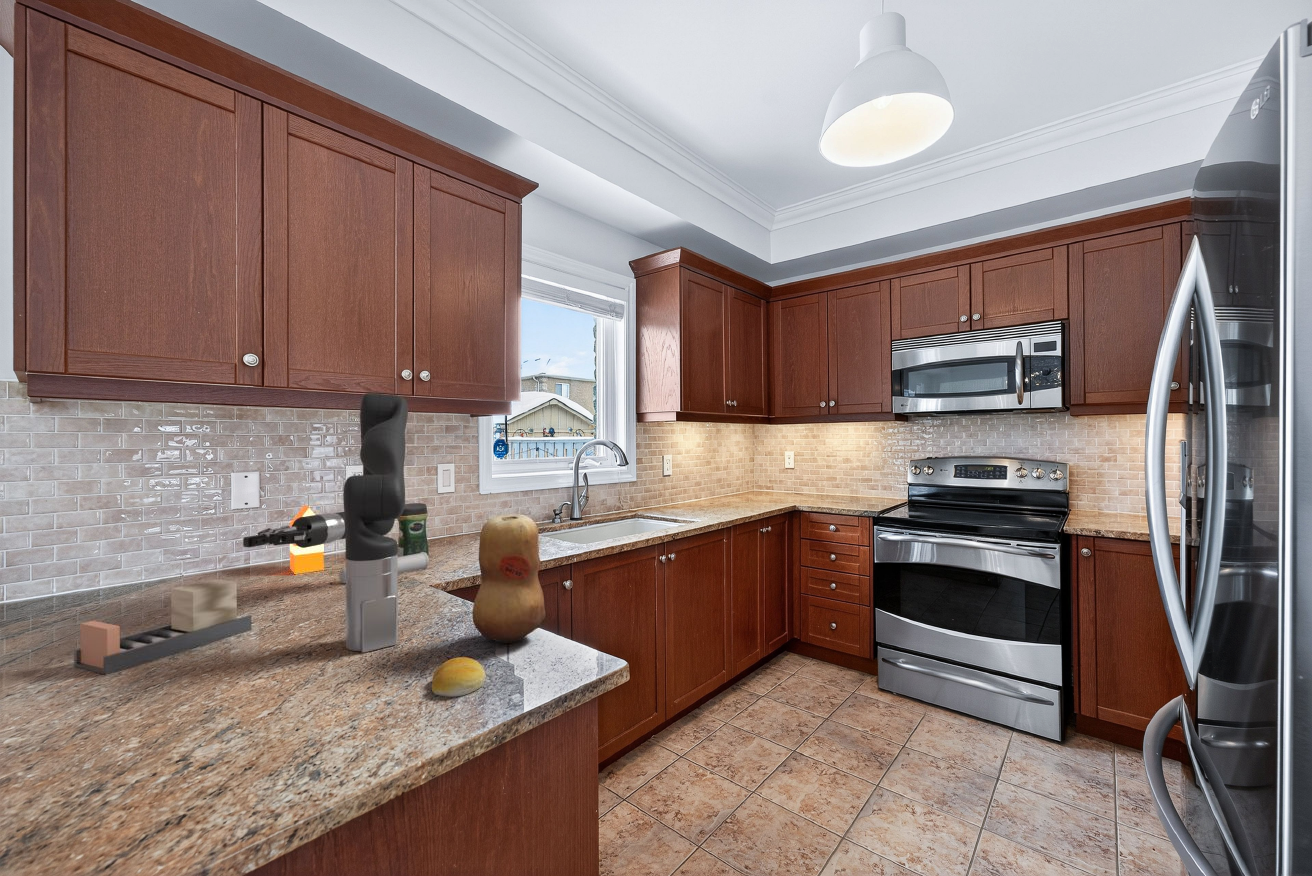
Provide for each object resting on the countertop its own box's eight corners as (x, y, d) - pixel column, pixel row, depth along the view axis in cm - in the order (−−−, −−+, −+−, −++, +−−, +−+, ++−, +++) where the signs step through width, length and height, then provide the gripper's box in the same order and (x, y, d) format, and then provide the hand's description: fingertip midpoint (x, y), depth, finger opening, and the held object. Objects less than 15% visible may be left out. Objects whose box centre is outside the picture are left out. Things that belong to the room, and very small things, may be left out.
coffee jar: (422, 554, 194) (422, 501, 194) (431, 557, 188) (431, 503, 188) (393, 558, 188) (393, 503, 188) (401, 562, 182) (401, 505, 182)
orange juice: (294, 575, 165) (293, 508, 165) (289, 570, 172) (289, 505, 172) (324, 571, 170) (323, 505, 170) (318, 566, 177) (318, 503, 177)
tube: (344, 572, 152) (430, 556, 172) (336, 564, 155) (421, 549, 175) (342, 590, 153) (427, 572, 173) (334, 581, 156) (419, 564, 176)
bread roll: (431, 703, 85) (431, 677, 85) (433, 679, 93) (432, 655, 93) (487, 694, 88) (487, 668, 88) (484, 671, 96) (484, 648, 96)
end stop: (93, 659, 101) (92, 620, 101) (119, 665, 98) (119, 626, 98) (80, 662, 99) (80, 623, 99) (107, 669, 96) (107, 629, 96)
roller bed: (221, 624, 121) (221, 610, 121) (251, 629, 118) (251, 615, 118) (74, 666, 99) (74, 649, 99) (106, 675, 95) (105, 657, 95)
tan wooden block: (215, 616, 119) (215, 579, 119) (236, 620, 116) (236, 582, 116) (171, 628, 111) (171, 588, 111) (193, 632, 109) (193, 591, 109)
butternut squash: (476, 658, 101) (475, 522, 101) (469, 635, 114) (469, 513, 114) (551, 647, 107) (550, 517, 107) (537, 625, 119) (536, 509, 119)
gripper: (300, 513, 140) (225, 523, 124) (337, 516, 135) (265, 527, 119) (300, 542, 140) (225, 557, 124) (338, 546, 135) (265, 562, 119)
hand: (245, 542), depth 122 cm, fingers closed
